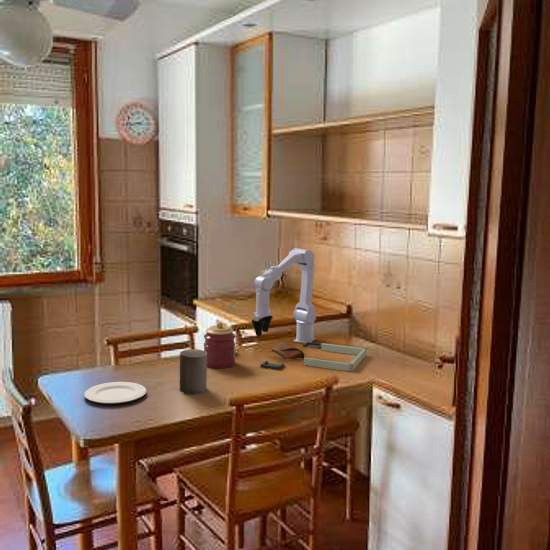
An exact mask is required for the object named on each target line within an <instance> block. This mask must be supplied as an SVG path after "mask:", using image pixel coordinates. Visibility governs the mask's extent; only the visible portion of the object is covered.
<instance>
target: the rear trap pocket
mask: <svg viewBox="0 0 550 550" xmlns="http://www.w3.org/2000/svg"><path fill="white" fill-rule="evenodd" d="M302 344H303V345H302V347H303V348H307V347H310V348H309V349H314V348H316V349H315V350H321V344H322V343H320V342H318V343H317V342H313V341H312V342H306V343H302Z"/></svg>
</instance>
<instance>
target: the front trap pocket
mask: <svg viewBox="0 0 550 550" xmlns="http://www.w3.org/2000/svg"><path fill="white" fill-rule="evenodd" d="M283 366H284V367H285V362H282V363H280V364H278V363H271V362H269V361H268V360H264V361H263V362H262V363H261V364H260V368H261V367H264V368H263V369H268V368H271V369H270V370H275V369H278V370H277V371H280V370H282V368H284V367H283ZM279 369H280V370H279Z"/></svg>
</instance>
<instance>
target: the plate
mask: <svg viewBox="0 0 550 550" xmlns="http://www.w3.org/2000/svg"><path fill="white" fill-rule="evenodd" d="M146 394H147V388H146V387H145V386H144V385H141V384H139V383H136V382H129V381H112V382H105V383H100V384H96V385H93V386H91V387H89V388H87V390H86V391H84V397H85V399H86V400H89V401H90V402H92V403H96V404H103V405H121V403H122V404H125V403H126V404H127V403H130V402H134V401H136V400H139V399H141V398H143V397H144V396H145V395H146Z"/></svg>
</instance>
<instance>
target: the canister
mask: <svg viewBox="0 0 550 550" xmlns="http://www.w3.org/2000/svg"><path fill="white" fill-rule="evenodd" d="M205 332H206V333H205V334H204V335H203V338H204V342H203V351H205V352H207V368H208V367H209V368H212V369H227V368H230V367H234V366H235V362H236V345H237V344H236V342H235V339H236V335H235V334H234V329H233V328H232V327H230V326H229V325H224V323H223V322H221V321H218V322H217V323H216V325H211V326H209V327H208V328H207V329H205Z"/></svg>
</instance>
